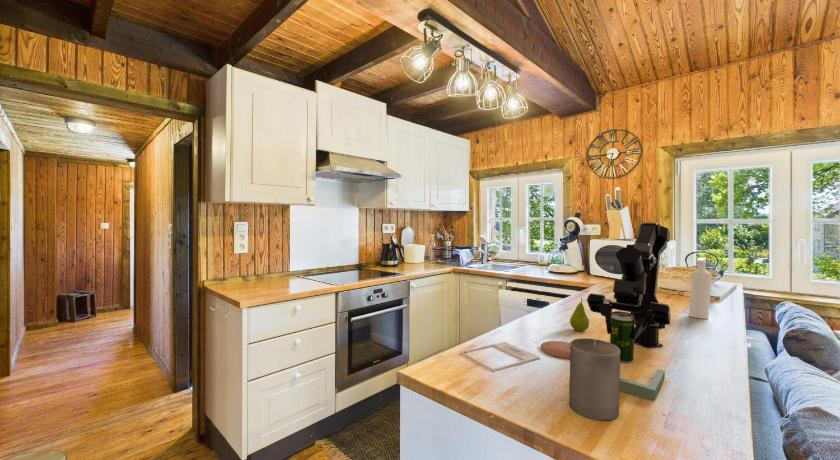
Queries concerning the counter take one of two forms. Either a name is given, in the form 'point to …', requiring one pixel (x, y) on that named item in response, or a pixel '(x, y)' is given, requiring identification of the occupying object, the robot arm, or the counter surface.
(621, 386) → the green u-shaped bracket
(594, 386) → the pillar candle
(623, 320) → the beer can
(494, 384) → the counter surface
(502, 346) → the photo frame
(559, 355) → the saucer
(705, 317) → the beige bottle
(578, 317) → the fruit
